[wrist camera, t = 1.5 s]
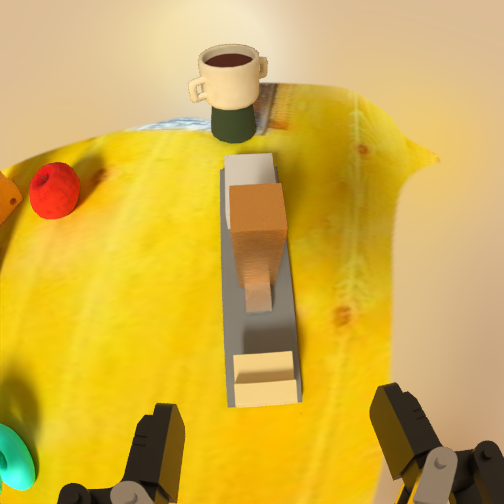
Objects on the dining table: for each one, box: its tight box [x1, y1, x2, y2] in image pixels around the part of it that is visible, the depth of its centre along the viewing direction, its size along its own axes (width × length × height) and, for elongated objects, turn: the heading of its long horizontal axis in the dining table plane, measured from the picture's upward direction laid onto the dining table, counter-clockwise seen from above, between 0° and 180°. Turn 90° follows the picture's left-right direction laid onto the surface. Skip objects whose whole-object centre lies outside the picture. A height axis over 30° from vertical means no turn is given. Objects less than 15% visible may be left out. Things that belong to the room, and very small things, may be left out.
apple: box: [29, 162, 80, 219], centre depth 31 cm, size 8×8×7 cm
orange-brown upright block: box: [229, 183, 288, 315], centre depth 25 cm, size 17×4×12 cm, turn 4°
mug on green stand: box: [188, 44, 268, 143], centre depth 33 cm, size 11×7×13 cm, turn 124°
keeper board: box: [220, 153, 302, 407], centre depth 28 cm, size 27×7×5 cm, turn 4°
